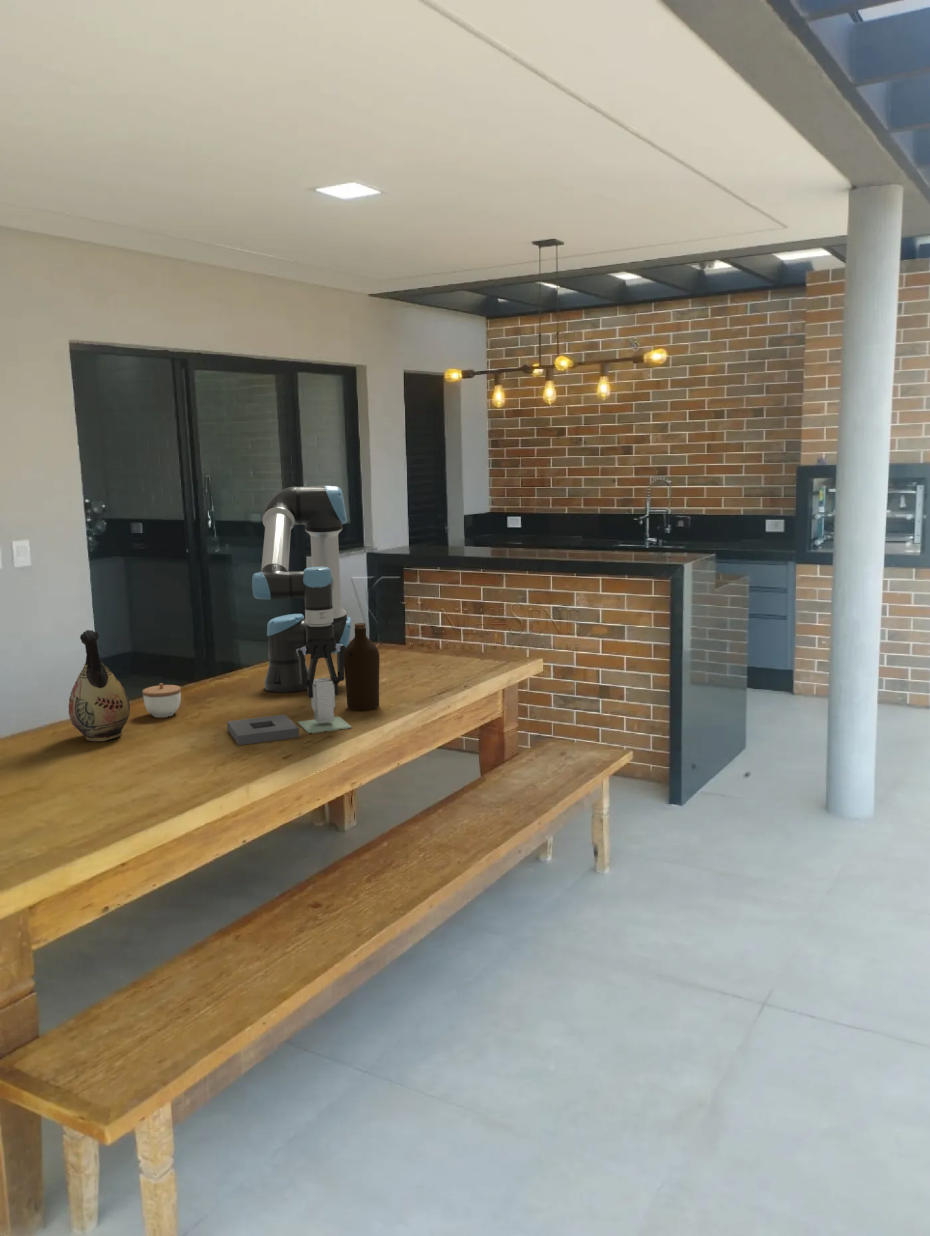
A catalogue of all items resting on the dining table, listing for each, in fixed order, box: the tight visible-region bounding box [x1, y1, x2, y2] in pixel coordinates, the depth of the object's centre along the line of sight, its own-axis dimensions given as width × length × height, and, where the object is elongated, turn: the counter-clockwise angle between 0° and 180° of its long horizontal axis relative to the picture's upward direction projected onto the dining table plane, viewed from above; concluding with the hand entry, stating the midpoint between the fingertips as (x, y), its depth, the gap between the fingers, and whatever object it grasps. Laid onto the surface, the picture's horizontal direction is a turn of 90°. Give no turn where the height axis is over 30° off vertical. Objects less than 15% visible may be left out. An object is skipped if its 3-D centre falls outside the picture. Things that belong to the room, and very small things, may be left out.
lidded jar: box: [141, 682, 182, 718], centre depth 292 cm, size 11×11×9 cm
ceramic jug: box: [68, 629, 131, 742], centre depth 267 cm, size 17×15×30 cm
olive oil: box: [344, 622, 381, 712], centre depth 294 cm, size 11×11×25 cm
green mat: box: [297, 716, 353, 735], centre depth 276 cm, size 12×12×1 cm
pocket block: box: [226, 714, 300, 746], centre depth 270 cm, size 16×16×2 cm
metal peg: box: [313, 677, 335, 724], centre depth 275 cm, size 4×4×12 cm
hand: (323, 707), depth 276 cm, fingers closed on metal peg, 4 cm apart
